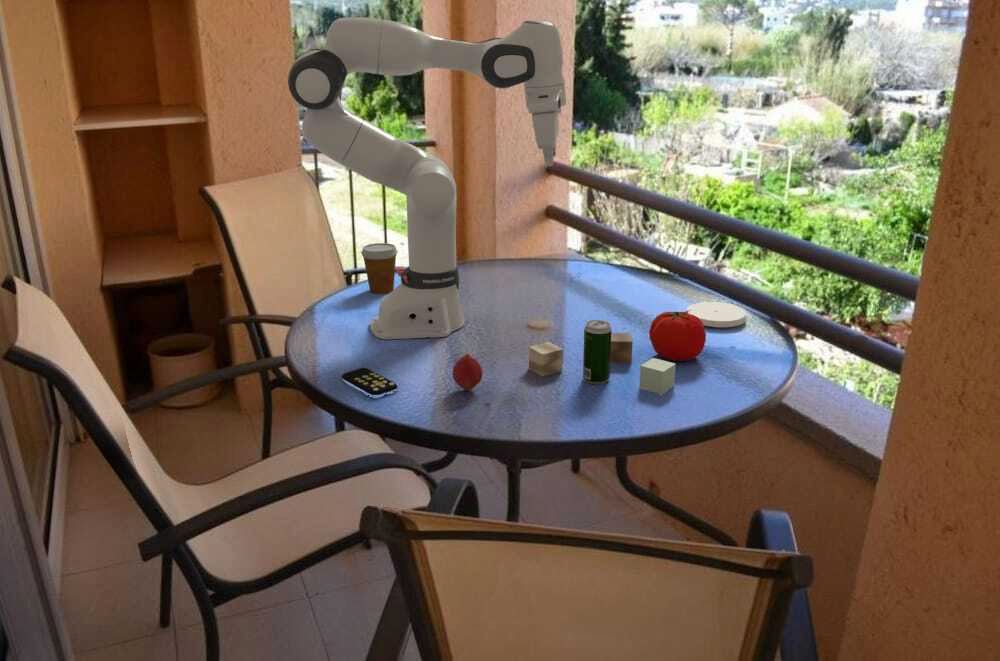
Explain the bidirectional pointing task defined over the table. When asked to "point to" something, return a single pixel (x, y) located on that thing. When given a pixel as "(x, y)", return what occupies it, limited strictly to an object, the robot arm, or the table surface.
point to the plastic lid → (718, 314)
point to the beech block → (545, 358)
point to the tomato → (677, 335)
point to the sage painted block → (657, 375)
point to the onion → (467, 372)
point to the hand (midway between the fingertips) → (550, 161)
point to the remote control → (369, 381)
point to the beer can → (597, 352)
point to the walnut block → (621, 348)
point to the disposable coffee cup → (380, 266)
